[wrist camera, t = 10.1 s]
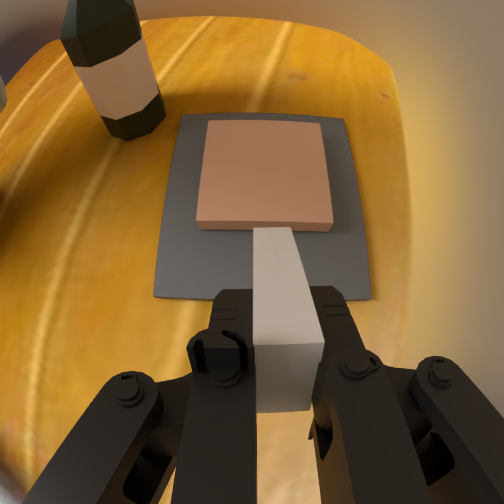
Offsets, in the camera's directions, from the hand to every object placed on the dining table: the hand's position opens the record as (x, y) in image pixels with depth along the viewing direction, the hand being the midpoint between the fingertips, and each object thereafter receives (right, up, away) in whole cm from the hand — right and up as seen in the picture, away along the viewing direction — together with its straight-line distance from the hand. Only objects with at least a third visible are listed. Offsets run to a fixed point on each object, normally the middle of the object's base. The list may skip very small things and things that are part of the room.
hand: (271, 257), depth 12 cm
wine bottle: (-16, +18, +21) cm, 32 cm away
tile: (0, +3, +13) cm, 14 cm away
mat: (0, +6, +17) cm, 18 cm away
